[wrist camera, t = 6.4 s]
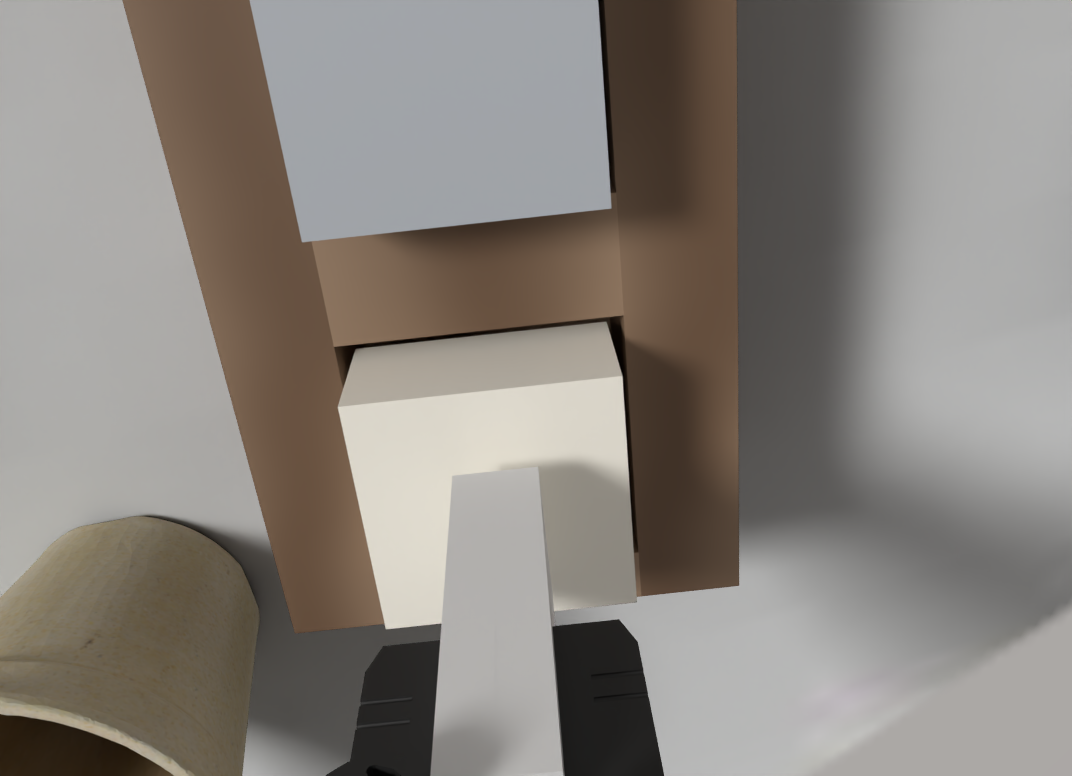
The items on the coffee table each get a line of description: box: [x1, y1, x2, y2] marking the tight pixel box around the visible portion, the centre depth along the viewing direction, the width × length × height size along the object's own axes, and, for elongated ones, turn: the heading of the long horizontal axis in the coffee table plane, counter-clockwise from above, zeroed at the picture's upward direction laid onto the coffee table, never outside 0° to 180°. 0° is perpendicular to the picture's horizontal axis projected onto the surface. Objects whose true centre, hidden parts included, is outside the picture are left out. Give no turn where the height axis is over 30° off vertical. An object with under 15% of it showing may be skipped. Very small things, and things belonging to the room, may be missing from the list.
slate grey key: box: [250, 0, 612, 242], centre depth 15 cm, size 5×5×2 cm
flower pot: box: [0, 516, 259, 776], centre depth 23 cm, size 9×9×9 cm
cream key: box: [338, 322, 637, 629], centre depth 19 cm, size 5×5×2 cm
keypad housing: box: [123, 0, 739, 634], centre depth 18 cm, size 10×24×5 cm, turn 6°
